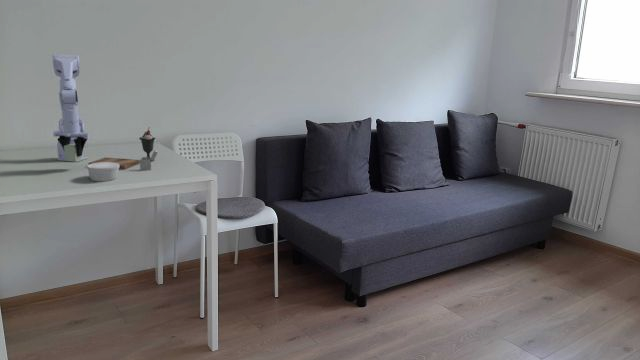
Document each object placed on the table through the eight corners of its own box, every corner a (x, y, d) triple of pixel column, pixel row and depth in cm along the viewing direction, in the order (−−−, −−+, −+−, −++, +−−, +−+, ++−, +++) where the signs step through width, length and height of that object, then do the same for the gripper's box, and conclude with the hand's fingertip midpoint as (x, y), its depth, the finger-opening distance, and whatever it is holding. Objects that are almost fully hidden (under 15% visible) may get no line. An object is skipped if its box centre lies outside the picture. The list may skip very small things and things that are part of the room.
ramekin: (86, 176, 191) (85, 162, 190) (117, 174, 196) (117, 160, 195) (89, 183, 182) (88, 169, 180) (122, 180, 187) (121, 167, 186)
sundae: (151, 162, 217) (150, 128, 213) (137, 161, 218) (135, 127, 214) (159, 159, 223) (158, 126, 219) (145, 158, 224) (144, 125, 221)
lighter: (140, 170, 203) (139, 151, 201) (140, 169, 205) (139, 150, 203) (158, 169, 206) (158, 150, 204) (158, 168, 207) (157, 149, 205)
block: (65, 160, 197) (63, 145, 196) (72, 158, 202) (71, 143, 200) (75, 161, 197) (74, 146, 195) (82, 159, 201) (81, 144, 200)
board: (88, 166, 206) (88, 163, 205) (105, 160, 217) (104, 157, 217) (125, 169, 203) (124, 165, 203) (139, 163, 215) (139, 159, 215)
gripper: (46, 121, 193) (50, 156, 196) (81, 123, 191) (84, 158, 194) (58, 119, 199) (61, 152, 203) (92, 121, 197) (95, 155, 201)
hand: (73, 155), depth 199 cm, fingers closed on block, 4 cm apart
